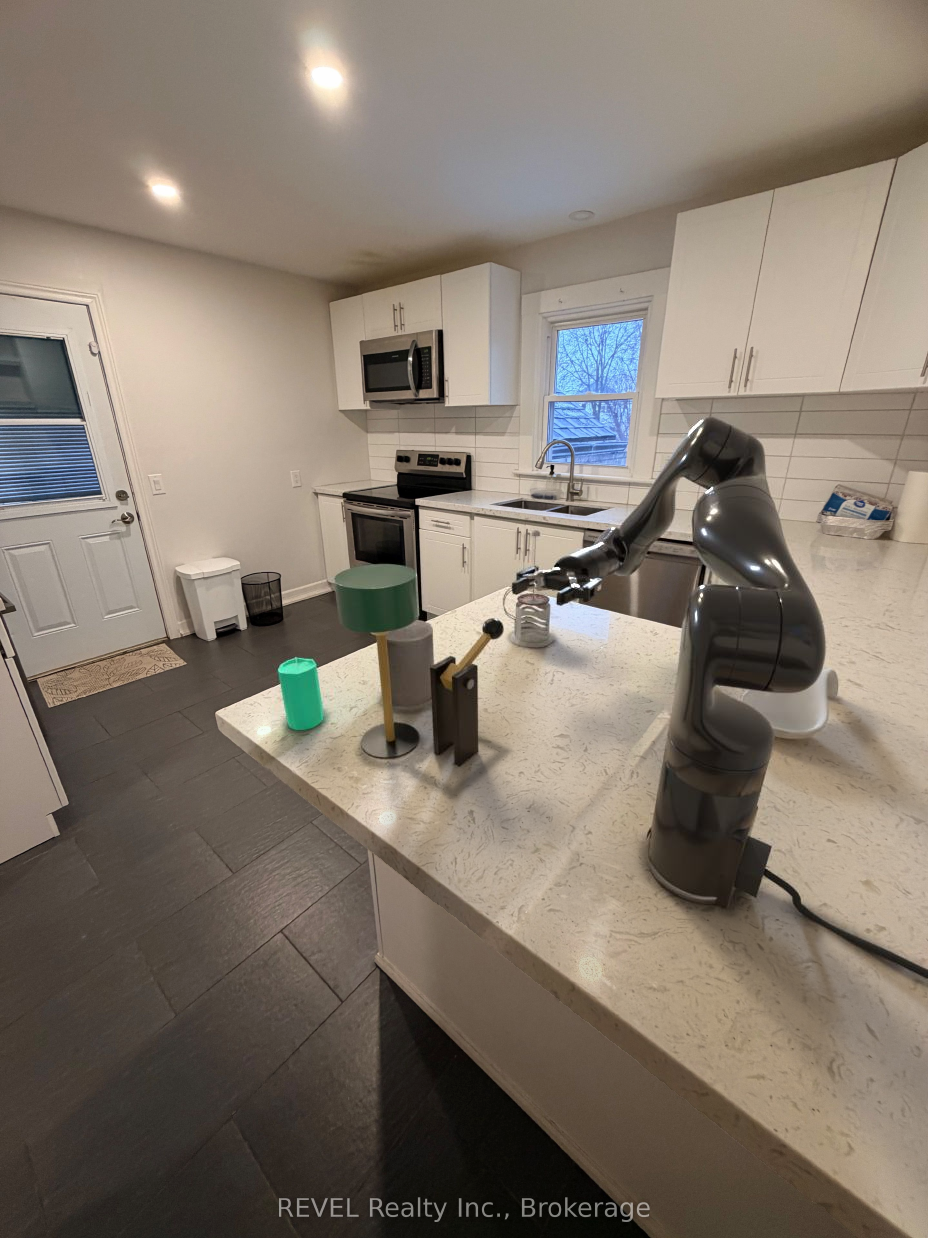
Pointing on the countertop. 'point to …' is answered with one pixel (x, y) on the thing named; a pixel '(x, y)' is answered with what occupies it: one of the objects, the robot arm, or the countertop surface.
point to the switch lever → (474, 650)
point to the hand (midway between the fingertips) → (535, 594)
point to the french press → (528, 631)
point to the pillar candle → (410, 663)
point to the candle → (301, 693)
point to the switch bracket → (455, 711)
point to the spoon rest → (796, 707)
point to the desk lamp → (380, 638)
